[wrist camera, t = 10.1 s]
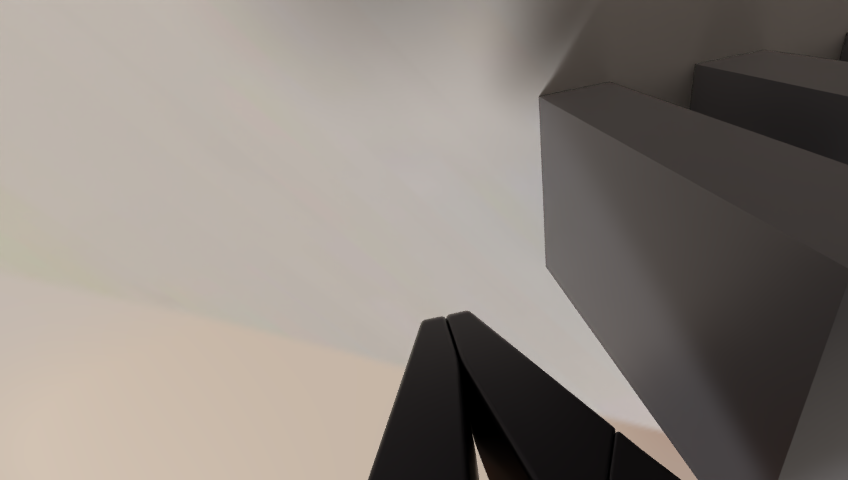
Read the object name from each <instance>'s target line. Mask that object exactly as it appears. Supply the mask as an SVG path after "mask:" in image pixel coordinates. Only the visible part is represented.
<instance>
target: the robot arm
mask: <svg viewBox="0 0 848 480" xmlns="http://www.w3.org/2000/svg"><path fill="white" fill-rule="evenodd" d="M472 434H473V435H472ZM473 437H474V440H473ZM474 441H475V444H476V446H477V449H478V452H479V455H480V458H481V460H482V463H483V466H484V468H485V471H486V473H487V476H488V478H489V480H681V479H679V478H678V477H677V476H675V475H674V474H673V473H671V472H670V471H669V470H668V469H666V468H665V467H664V466H662V465H661V464H659V463H658V462H657V461H656V460H654V459H653V458H652V457H651V456H649V455H648V454H647V453H645V452H644V451H642V450H641V449H640V448H639V447H638V446H636V445H635V444H634V443H633V442H631V441H630V440H629V439H628V438H626V437H625V436H624V435H623V434H622V433H620V432H616V433H615V428H614V427H613V426H611V425H610V424H609V423H608V422H607V421H605V420H604V419H603V418H602V417H600V416H599V415H598V414H597V413H595V412H594V411H593V410H592V409H590V408H589V407H588V406H587V405H585V404H584V403H583V402H582V401H580V400H579V399H578V398H577V397H575V396H574V395H573V394H572V393H571V392H569V391H568V390H567V389H566V388H564V387H563V386H562V385H561V384H559V383H558V382H557V381H556V380H554V379H553V378H552V377H551V376H549V375H548V374H547V373H546V372H544V371H543V370H542V369H541V368H539V367H538V366H537V365H536V364H535V363H533V362H532V361H531V360H530V359H528V358H527V357H526V356H525V355H523V354H522V353H521V352H520V351H518V350H517V349H516V348H515V347H513V346H512V345H511V344H510V343H508V342H507V341H506V340H505V339H503V338H502V337H501V336H500V335H499V334H497V333H496V332H495V331H494V330H492V329H491V328H490V327H489V326H487V325H486V324H485V323H484V322H482V321H481V320H480V319H479V318H477V317H476V316H475V315H474V314H472V313H471V312H469V311H463V312H458V313H454V314H450V315H448V316H447V318H445V317H443V316H441V317H436V318H432V319H427V320H424V321H423V322H422V323H421V325H420V328H419V331H418V334H417V337H416V340H415V343H414V346H413V349H412V352H411V355H410V357H409V360H408V363H407V366H406V369H405V372H404V375H403V378H402V381H401V384H400V387H399V390H398V393H397V396H396V399H395V402H394V405H393V408H392V411H391V414H390V417H389V420H388V422H387V425H386V429H385V431H384V434H383V437H382V440H381V443H380V446H379V449H378V452H377V455H376V458H375V461H374V464H373V467H372V470H371V473H370V476H369V479H368V480H479V475H478V467H477V460H476V453H475V446H474Z"/></svg>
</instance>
